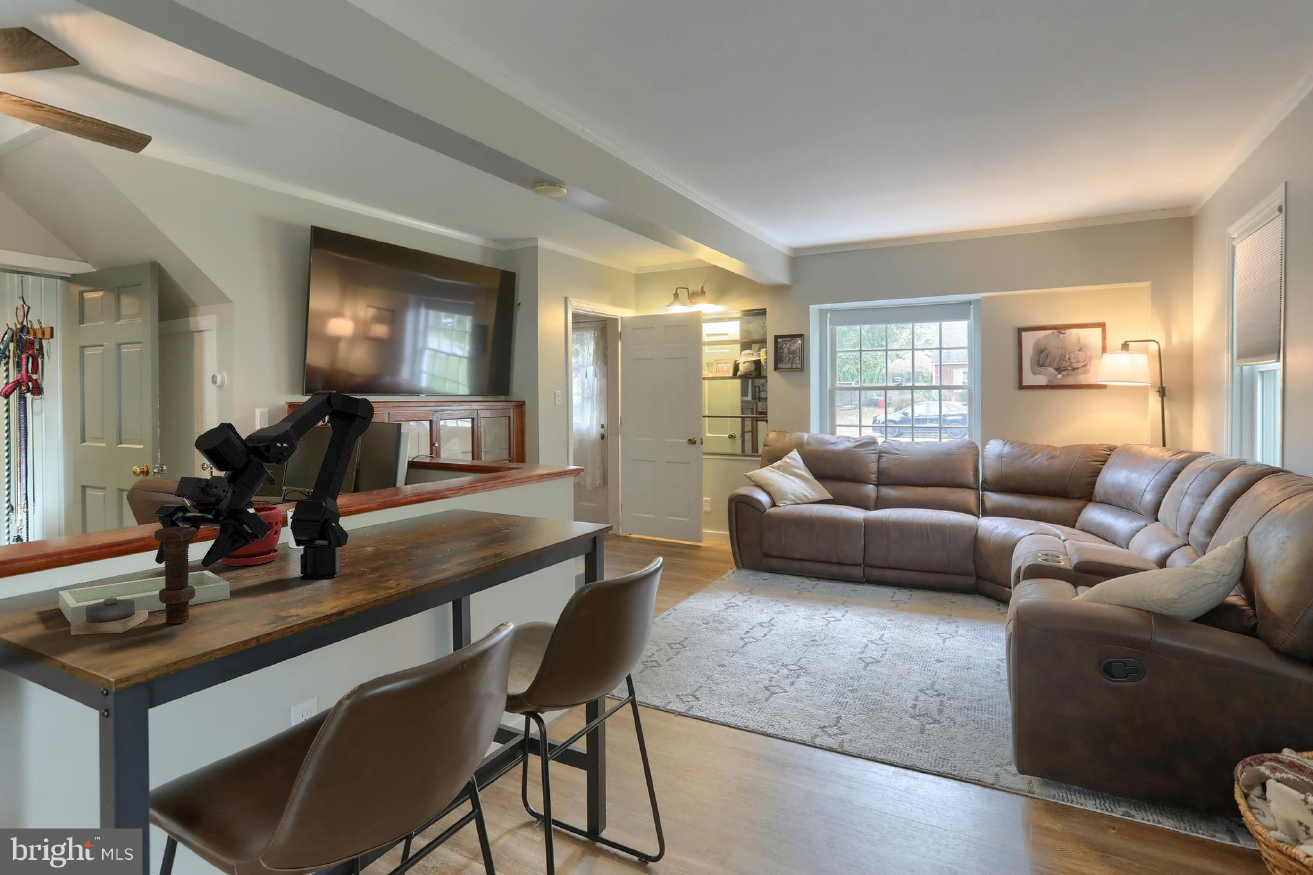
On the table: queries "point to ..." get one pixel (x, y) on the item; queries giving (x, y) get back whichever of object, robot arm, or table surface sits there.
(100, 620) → the stand
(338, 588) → the table surface
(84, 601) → the tray
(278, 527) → the plant pot
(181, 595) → the bolt
